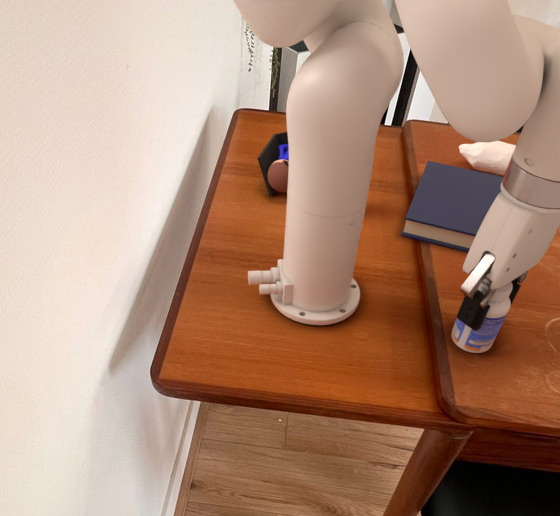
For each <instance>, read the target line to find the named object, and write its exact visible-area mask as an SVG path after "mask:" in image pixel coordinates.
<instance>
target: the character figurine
mask: <svg viewBox="0 0 560 516" xmlns="http://www.w3.org/2000/svg"><path fill="white" fill-rule="evenodd" d="M257 162H258V165H259V168H260V171H261V174H262V177H263V180H264V183H265V186H266V190H267V192H268V195H269V197H270V196H271V197H272V196H274V194H275V192H279V193H287V188H288V170H289V147H288V134H287V131H283V132H278V133H273V135H272V136H271V137H270V139H269V141H268V142H267V143H266V145H265V146H264V148H263V149H262V151H261V152H260V153H259V155H258V156H257Z"/></svg>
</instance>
